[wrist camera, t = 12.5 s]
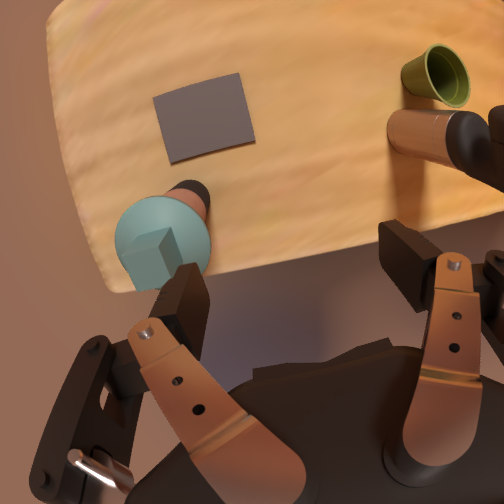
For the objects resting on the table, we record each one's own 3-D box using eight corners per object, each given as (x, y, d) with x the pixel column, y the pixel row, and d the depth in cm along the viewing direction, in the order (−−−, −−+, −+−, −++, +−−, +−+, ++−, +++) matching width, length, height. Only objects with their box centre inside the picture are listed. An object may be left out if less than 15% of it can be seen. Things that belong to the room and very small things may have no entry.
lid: (194, 183, 26) (183, 197, 21) (222, 275, 31) (220, 307, 26) (104, 211, 27) (78, 231, 22) (139, 293, 32) (124, 323, 26)
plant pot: (409, 115, 41) (445, 117, 31) (380, 63, 37) (413, 52, 26) (443, 96, 38) (478, 96, 28) (417, 47, 34) (451, 37, 24)
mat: (238, 73, 38) (238, 72, 37) (255, 140, 43) (255, 140, 43) (153, 98, 39) (152, 97, 38) (171, 162, 44) (170, 163, 43)
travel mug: (220, 195, 47) (208, 240, 29) (194, 227, 49) (170, 285, 31) (186, 169, 45) (152, 197, 27) (162, 202, 47) (119, 248, 29)
